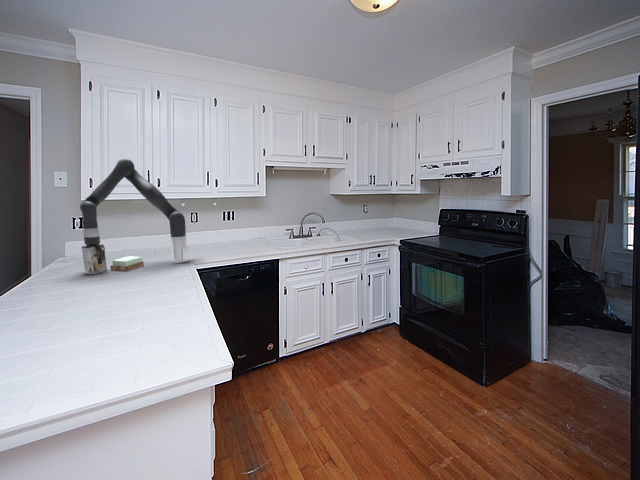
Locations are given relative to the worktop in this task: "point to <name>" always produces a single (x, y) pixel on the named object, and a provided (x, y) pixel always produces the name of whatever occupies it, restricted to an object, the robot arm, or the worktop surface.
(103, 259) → the coffee box
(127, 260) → the top slab
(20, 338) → the worktop surface
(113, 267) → the bottom slab
